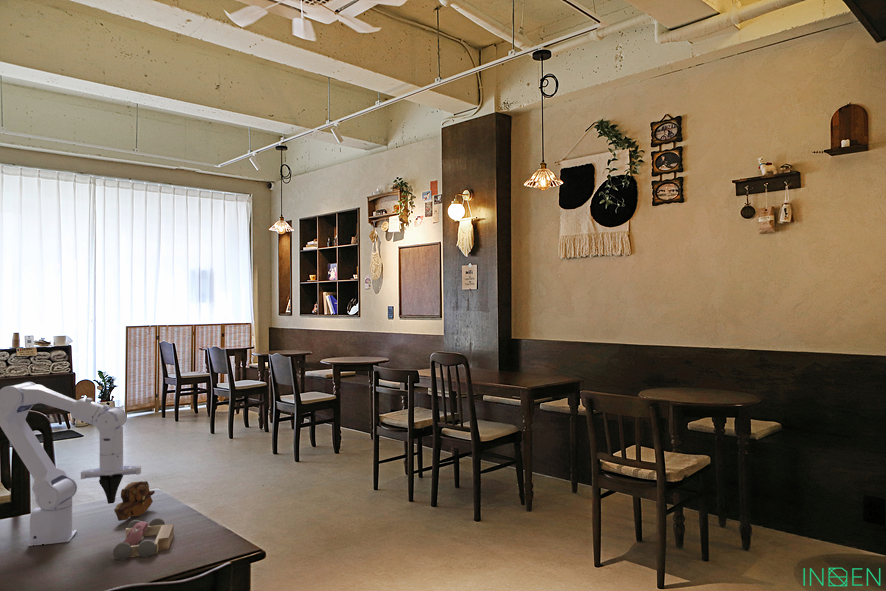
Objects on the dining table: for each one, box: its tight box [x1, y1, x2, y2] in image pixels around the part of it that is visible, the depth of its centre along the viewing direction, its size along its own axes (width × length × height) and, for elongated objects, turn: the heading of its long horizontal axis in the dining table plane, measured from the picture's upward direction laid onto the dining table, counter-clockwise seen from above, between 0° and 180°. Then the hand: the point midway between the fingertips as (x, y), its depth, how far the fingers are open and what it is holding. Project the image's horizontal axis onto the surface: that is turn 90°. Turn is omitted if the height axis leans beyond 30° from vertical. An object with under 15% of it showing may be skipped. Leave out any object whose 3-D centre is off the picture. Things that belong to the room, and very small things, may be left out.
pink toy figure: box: [122, 520, 150, 546], centre depth 161 cm, size 10×5×7 cm, turn 13°
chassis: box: [112, 517, 175, 561], centre depth 161 cm, size 12×18×4 cm
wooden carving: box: [114, 480, 156, 522], centre depth 183 cm, size 16×5×10 cm, turn 178°
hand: (111, 502), depth 166 cm, fingers closed
